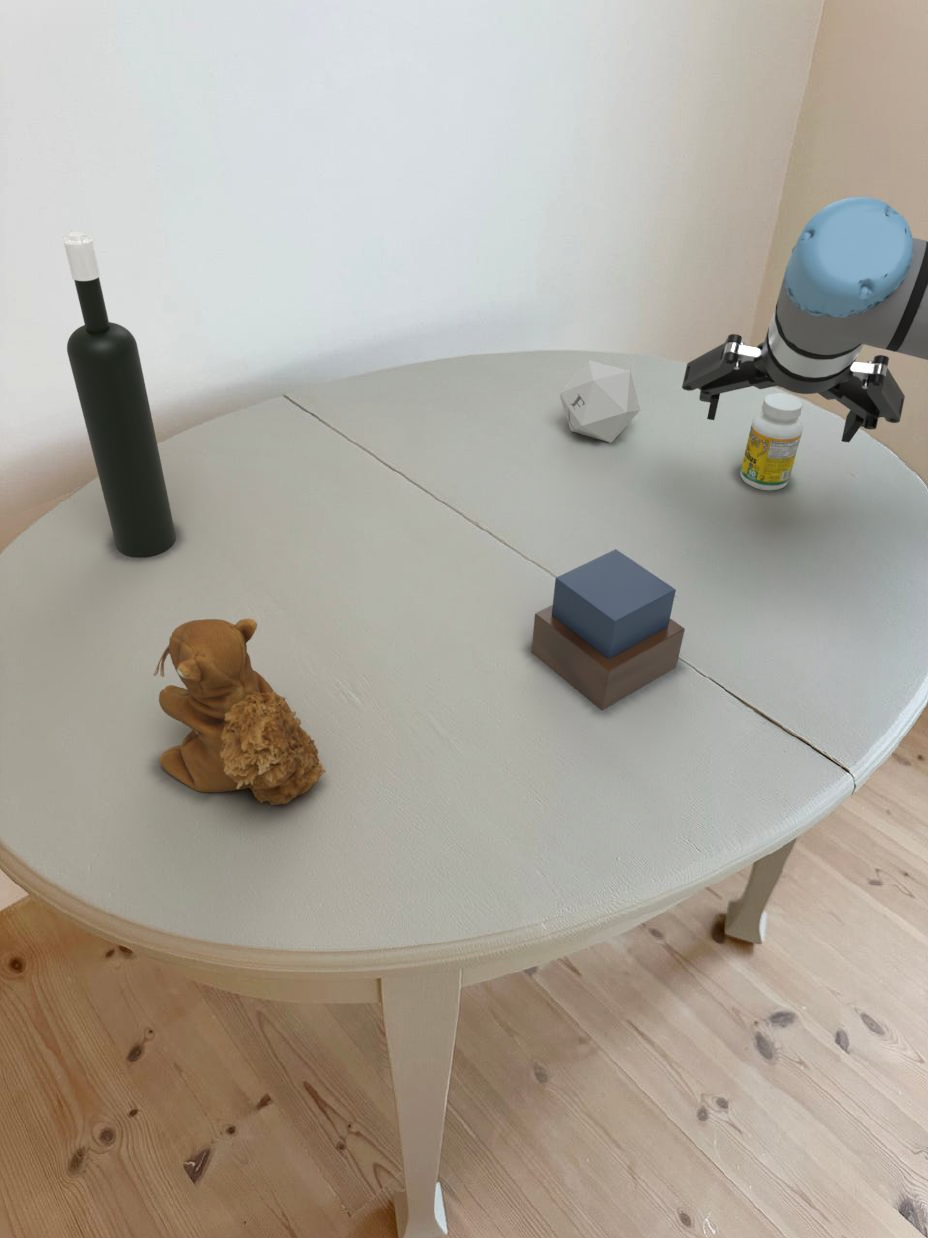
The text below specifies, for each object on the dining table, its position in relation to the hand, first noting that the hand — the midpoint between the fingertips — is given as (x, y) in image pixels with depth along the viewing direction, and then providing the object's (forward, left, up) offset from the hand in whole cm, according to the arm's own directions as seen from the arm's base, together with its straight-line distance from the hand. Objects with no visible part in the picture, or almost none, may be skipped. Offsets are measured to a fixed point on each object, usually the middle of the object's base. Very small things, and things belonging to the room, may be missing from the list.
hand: (779, 418), depth 99 cm
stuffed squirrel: (-24, +59, -10) cm, 64 cm away
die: (+18, +12, -10) cm, 24 cm away
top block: (-20, +28, -5) cm, 34 cm away
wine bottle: (+9, +65, -10) cm, 66 cm away
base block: (-20, +28, -10) cm, 35 cm away
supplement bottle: (+3, -2, -10) cm, 11 cm away
